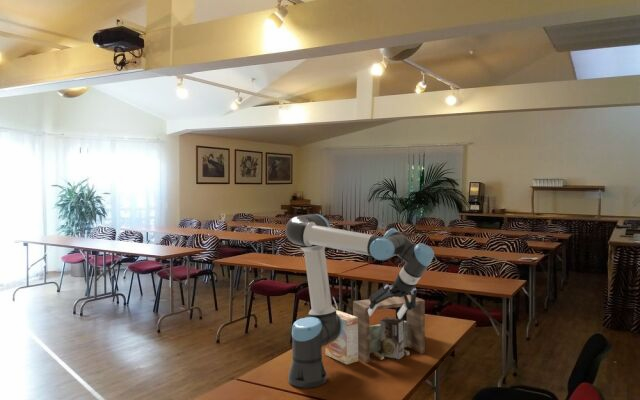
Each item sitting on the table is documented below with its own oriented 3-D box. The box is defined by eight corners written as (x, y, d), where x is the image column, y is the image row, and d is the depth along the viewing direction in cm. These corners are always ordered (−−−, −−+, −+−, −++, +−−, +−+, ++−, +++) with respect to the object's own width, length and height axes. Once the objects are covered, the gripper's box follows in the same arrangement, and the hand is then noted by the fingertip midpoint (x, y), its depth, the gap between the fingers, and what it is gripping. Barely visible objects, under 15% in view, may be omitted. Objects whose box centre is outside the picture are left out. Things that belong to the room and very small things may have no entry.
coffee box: (404, 355, 213) (404, 319, 212) (399, 359, 207) (398, 323, 207) (386, 351, 218) (385, 316, 217) (380, 355, 212) (379, 320, 212)
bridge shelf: (365, 363, 204) (365, 307, 203) (353, 353, 215) (352, 301, 214) (424, 353, 215) (424, 300, 214) (410, 344, 226) (410, 294, 225)
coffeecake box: (324, 355, 214) (324, 312, 213) (337, 351, 218) (336, 309, 218) (346, 365, 202) (346, 319, 201) (359, 361, 206) (358, 316, 206)
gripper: (381, 281, 174) (358, 319, 185) (438, 289, 182) (413, 325, 193) (376, 267, 179) (354, 304, 190) (431, 275, 188) (407, 310, 199)
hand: (384, 315), depth 192 cm, fingers open, 13 cm apart
